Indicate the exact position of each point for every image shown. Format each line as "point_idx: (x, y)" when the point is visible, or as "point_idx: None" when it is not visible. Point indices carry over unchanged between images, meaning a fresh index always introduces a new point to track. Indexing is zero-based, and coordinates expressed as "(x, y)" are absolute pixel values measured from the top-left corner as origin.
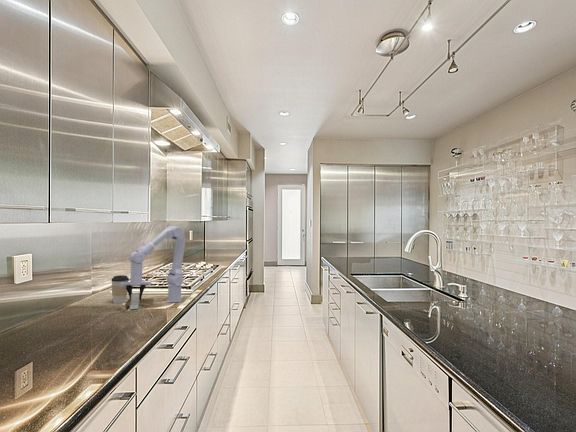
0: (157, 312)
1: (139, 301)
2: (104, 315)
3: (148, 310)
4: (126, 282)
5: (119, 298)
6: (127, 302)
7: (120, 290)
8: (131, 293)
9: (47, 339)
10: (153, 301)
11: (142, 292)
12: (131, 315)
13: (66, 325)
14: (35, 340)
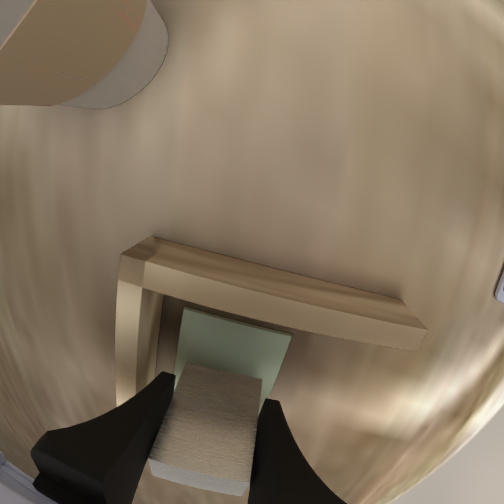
0: (341, 476)
1: (258, 402)
2: (67, 404)
3: (309, 441)
4: (2, 502)
5: (74, 104)
6: (145, 322)
7: (11, 100)
8: (150, 463)
9: (33, 476)
10: (411, 315)
11: (295, 457)
12: None
13: (8, 423)
14: (17, 465)
